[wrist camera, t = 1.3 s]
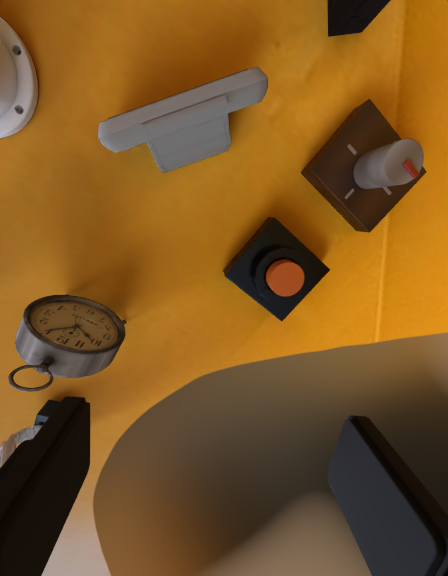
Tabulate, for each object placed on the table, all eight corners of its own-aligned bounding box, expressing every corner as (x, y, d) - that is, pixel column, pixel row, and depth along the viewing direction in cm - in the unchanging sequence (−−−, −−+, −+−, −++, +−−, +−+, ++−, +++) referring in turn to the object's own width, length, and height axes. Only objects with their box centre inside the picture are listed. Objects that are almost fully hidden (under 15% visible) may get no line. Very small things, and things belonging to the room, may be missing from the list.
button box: (222, 271, 36) (226, 280, 32) (268, 216, 35) (279, 217, 30) (276, 313, 39) (286, 327, 34) (320, 265, 38) (338, 273, 33)
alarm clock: (137, 316, 37) (93, 389, 22) (122, 344, 38) (69, 433, 23) (64, 282, 35) (-44, 337, 19) (51, 313, 36) (-62, 389, 21)
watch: (36, 396, 40) (-23, 462, 29) (87, 408, 41) (49, 475, 31) (29, 423, 41) (-30, 495, 31) (79, 434, 43) (40, 506, 32)
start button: (258, 278, 32) (262, 282, 31) (281, 252, 32) (287, 254, 30) (282, 297, 34) (287, 303, 32) (305, 273, 33) (311, 276, 31)
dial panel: (300, 173, 34) (310, 169, 31) (354, 108, 32) (370, 97, 29) (356, 231, 37) (370, 232, 34) (408, 175, 35) (427, 171, 32)
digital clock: (245, 80, 30) (267, 13, 20) (251, 163, 33) (274, 140, 22) (108, 94, 29) (59, 31, 19) (127, 177, 32) (92, 161, 22)
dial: (346, 172, 31) (377, 163, 26) (372, 142, 30) (410, 127, 25) (367, 196, 32) (402, 193, 27) (393, 168, 31) (434, 159, 26)
